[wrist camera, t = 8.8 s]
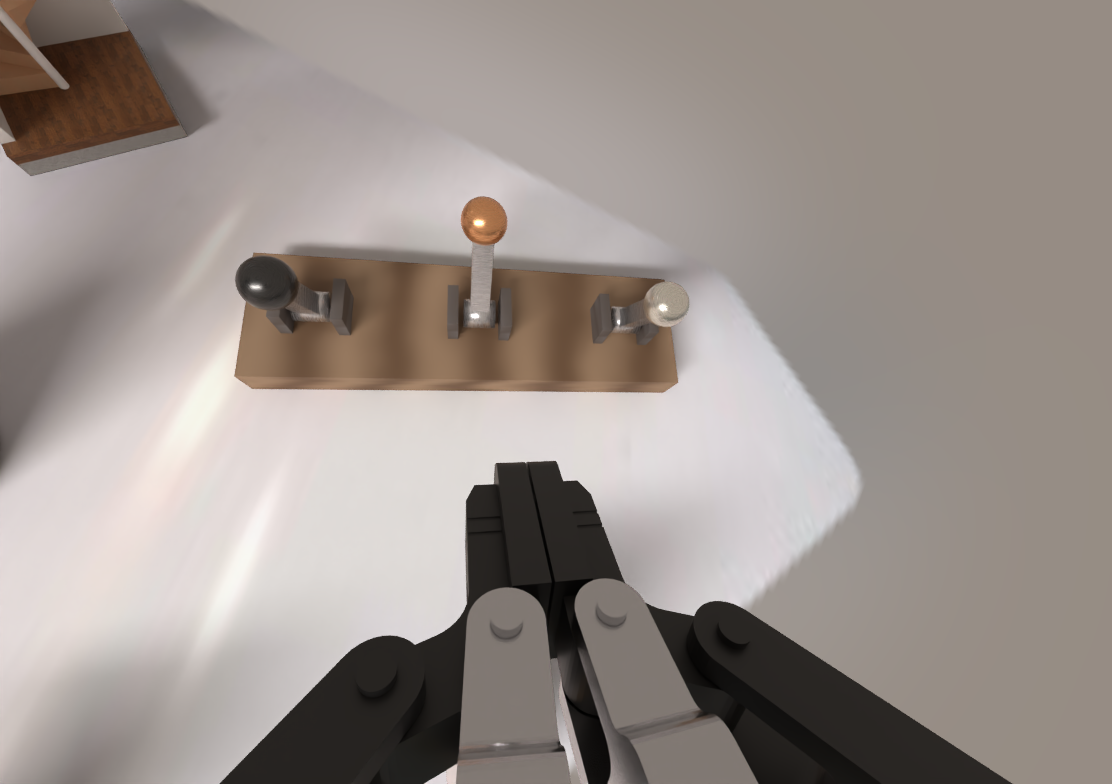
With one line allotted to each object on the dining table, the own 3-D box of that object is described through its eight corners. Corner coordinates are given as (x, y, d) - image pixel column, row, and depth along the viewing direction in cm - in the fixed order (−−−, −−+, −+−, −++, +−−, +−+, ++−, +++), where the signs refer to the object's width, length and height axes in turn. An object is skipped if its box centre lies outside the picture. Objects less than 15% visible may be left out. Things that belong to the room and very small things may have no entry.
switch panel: (252, 388, 35) (214, 362, 29) (268, 273, 38) (237, 229, 32) (663, 392, 42) (694, 371, 37) (651, 295, 45) (678, 262, 39)
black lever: (295, 327, 34) (224, 304, 24) (295, 287, 34) (224, 246, 24) (338, 329, 35) (287, 307, 24) (338, 289, 35) (287, 250, 24)
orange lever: (459, 336, 35) (461, 210, 27) (459, 310, 37) (461, 185, 29) (498, 337, 36) (511, 215, 28) (496, 312, 38) (507, 189, 30)
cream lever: (602, 338, 39) (654, 323, 29) (602, 303, 39) (654, 275, 29) (634, 339, 40) (697, 325, 29) (635, 305, 40) (698, 278, 29)
